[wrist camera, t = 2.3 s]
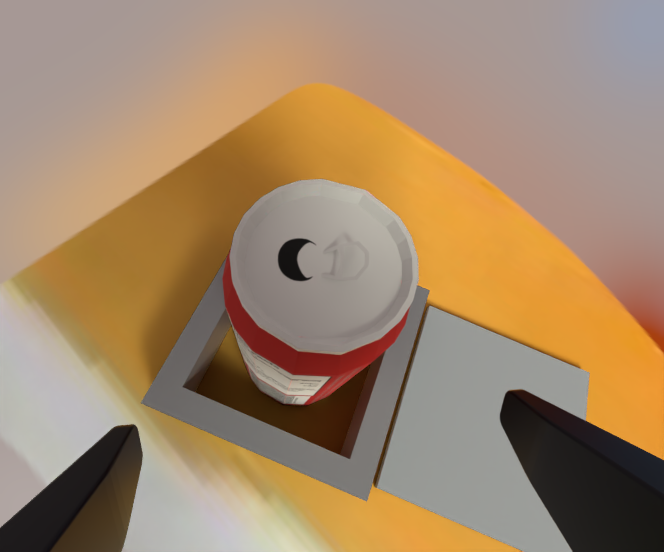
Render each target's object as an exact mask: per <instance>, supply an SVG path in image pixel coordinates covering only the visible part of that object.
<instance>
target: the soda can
mask: <svg viewBox="0 0 664 552" xmlns="http://www.w3.org/2000/svg"><path fill="white" fill-rule="evenodd" d="M222 280H223V290H224V300H225V307H226V310H227V313H228V316H229V319H230V321H231V324H232V327H233V330H234V333H235V336H236V339H237V342H238V345H239V348H240V351H241V354H242V357H243V360H244V363H245V366H246V369H247V371H248V373H249V376H250V378H251V380H252V381H253V383H254V384H255V385H256V386H257V388H258V389H259V390H260V391H261V392H262V393H264V394H265V395H267V396H269V397H271V398H272V399H274V400H276V401H277V402H279V403H281V404H282V405H301V406H307V405H310V404H312V403H314V402H317V401H319V400H321V399H324V398H326V397H328V396H329V395H330V394H332V393H333V392H334V391H335V390H337V389H338V388H339V387H341V386H342V385H343V384H345V383H346V382H347V381H348V380H350V379H351V378H352V377H354V376H355V375H356V374H358V373H359V372H360V371H361V370H363V369H364V368H365V367H367V366H368V365H369V364H370V363H372V362H373V361H374V360H375V359H377V358H378V357H379V356H380V355H381V354H382V353H383V352H384V351H385V350H387V349H388V348H389V347H390V346H391V345H392V344H393V343H394V342H395V341H396V339H397V337H398V336H399V334H400V332H401V331H402V329H403V328H404V326H405V324H406V320H407V316H408V312H409V309H410V305H411V303H412V302H413V299H414V295H415V292H416V288H417V284H418V280H419V277H418V257H417V253H416V250H415V247H414V244H413V240H412V237H411V235H410V233H409V232H408V230H407V229H406V227H405V225H404V224H403V222H402V220H401V219H400V217H399V216H397V215H396V214H395V213H394V212H393V211H391V210H390V209H389V208H388V207H386V206H385V205H384V204H383V203H382V202H380V201H379V200H378V199H377V198H375V197H374V196H373V195H372V194H371V193H369V192H368V191H367V190H364V189H360V188H356V187H352V186H348V185H344V184H340V183H336V182H332V181H328V180H325V179H314V180H300V181H297V182H293V183H290V184H287V185H283V186H280V187H278V188H276V189H274V190H273V191H271V192H269V193H268V194H266V195H264V196H263V197H261V198H260V199H259V200H258V201H257V202H256V203H255V204H254V205H253V206H252V207H251V208H250V209H249V210H248V211H247V212H246V213H245V214H244V216H243V218H242V219H241V221H240V223H239V225H238V227H237V229H236V231H235V233H234V236H233V241H232V246H231V249H230V251H229V254H228V256H227V258H226V263H225V268H224V273H223V278H222Z"/></svg>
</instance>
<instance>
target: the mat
mask: <svg viewBox="0 0 664 552" xmlns="http://www.w3.org/2000/svg"><path fill="white" fill-rule="evenodd" d="M588 384H589V372H586V371H584V370H582V369H579V368H577V367H575V366H572V365H570V364H567V363H565V362H563V361H560V360H558V359H556V358H553V357H551V356H548V355H546V354H544V353H541V352H539V351H537V350H534V349H532V348H529V347H527V346H525V345H522V344H520V343H518V342H515V341H513V340H510V339H508V338H506V337H503V336H501V335H499V334H496V333H494V332H492V331H489V330H487V329H484V328H482V327H480V326H477V325H475V324H473V323H470V322H468V321H465V320H463V319H461V318H458V317H456V316H454V315H451V314H449V313H446V312H444V311H442V310H439V309H437V308H435V307H432V306H429V307H428V308H427V310H426V314H425V317H424V321H423V324H422V327H421V331H420V334H419V338H418V341H417V344H416V348H415V351H414V355H413V358H412V362H411V365H410V368H409V372H408V375H407V379H406V382H405V385H404V389H403V392H402V396H401V399H400V402H399V406H398V409H397V413H396V416H395V420H394V423H393V426H392V430H391V433H390V437H389V440H388V443H387V447H386V450H385V454H384V457H383V460H382V464H381V467H380V471H379V474H378V478H377V481H376V484H375V487H376V488H378V489H381V490H383V491H385V492H388V493H390V494H392V495H394V496H397V497H399V498H401V499H404V500H406V501H408V502H411V503H413V504H415V505H418V506H420V507H422V508H424V509H427V510H429V511H431V512H434V513H436V514H438V515H441V516H443V517H445V518H448V519H450V520H452V521H454V522H457V523H459V524H461V525H464V526H466V527H468V528H471V529H473V530H475V531H478V532H480V533H482V534H484V535H487V536H489V537H491V538H494V539H496V540H498V541H501V542H503V543H505V544H508V545H510V546H512V547H514V548H517V549H519V550H521V551H524V552H572V550H571V549H570V547H569V545H568V544H567V542H566V540H565V539H564V537H563V535H562V534H561V532H560V531H559V529H558V527H557V526H556V524H555V522H554V521H553V519H552V518H551V516H550V514H549V513H548V511H547V509H546V508H545V506H544V504H543V503H542V501H541V500H540V498H539V496H538V495H537V493H536V491H535V490H534V488H533V486H532V485H531V483H530V481H529V479H528V477H527V475H526V474H525V472H524V470H523V468H522V466H521V464H520V462H519V460H518V458H517V456H516V454H515V452H514V450H513V448H512V445H511V443H510V441H509V439H508V437H507V435H506V433H505V431H504V429H503V427H502V425H501V422H500V411H501V407H502V403H503V400H504V396H505V393H506V392H507V391H509V390H516V389H523V390H526V391H528V392H530V393H532V394H534V395H536V396H538V397H540V398H541V399H543V400H545V401H547V402H549V403H551V404H553V405H555V406H557V407H559V408H561V409H563V410H565V411H567V412H569V413H571V414H573V415H575V416H577V417H579V418H581V419H583V420H585V421H586V409H587V397H588Z"/></svg>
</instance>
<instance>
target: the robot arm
mask: <svg viewBox="0 0 664 552" xmlns="http://www.w3.org/2000/svg"><path fill="white" fill-rule="evenodd" d="M500 422H501V425H502V427H503V429H504V431H505V433H506V435H507V437H508V439H509V441H510V443H511V445H512V448H513V450H514V452H515V454H516V456H517V458H518V460H519V462H520V464H521V466H522V468H523V470H524V472H525V474H526V475H527V477H528V479H529V481H530V483H531V485H532V486H533V488H534V490H535V491H536V493H537V495H538V496H539V498H540V500H541V501H542V503H543V504H544V506H545V508H546V509H547V511H548V513H549V514H550V516H551V518H552V519H553V521H554V522H555V524H556V526H557V527H558V529H559V531H560V532H561V534H562V535H563V537H564V539H565V540H566V542H567V544H568V545H569V547H570V549H571V550H572V552H664V460H662V459H660V458H658V457H656V456H654V455H652V454H650V453H648V452H646V451H644V450H642V449H640V448H638V447H636V446H635V445H633V444H631V443H629V442H627V441H625V440H623V439H621V438H619V437H617V436H615V435H613V434H611V433H609V432H607V431H605V430H603V429H601V428H599V427H597V426H595V425H593V424H591V423H589V422H587V421H585V420H583V419H581V418H579V417H577V416H575V415H573V414H571V413H569V412H567V411H565V410H563V409H561V408H559V407H557V406H555V405H553V404H551V403H549V402H547V401H545V400H543V399H541V398H540V397H538V396H536V395H534V394H532V393H530V392H528V391H526V390H523V389H516V390H509V391H507V392H506V393H505V396H504V400H503V403H502V407H501V411H500ZM142 457H143V454H142V448H141V443H140V438H139V433H138V428H137V427H136V425H133V424H131V425H120V426H116V427H114V428H112V429H111V430H110V431H109V432H108V433H107V434H106V435H104V436H103V437H102V438H101V439H100V440H99V441H98V442H97V443H95V444H94V445H93V446H92V447H91V448H90V449H89V450H88V451H86V452H85V453H84V454H83V455H82V456H81V457H80V458H78V459H77V460H76V461H75V462H74V463H73V464H72V465H71V466H69V467H68V468H67V469H66V470H65V471H64V472H63V473H62V474H60V475H59V476H58V477H57V478H56V479H55V480H54V481H53V482H51V483H50V484H49V485H48V486H47V487H46V488H45V489H43V490H42V491H41V492H40V493H39V494H38V495H37V496H36V497H34V498H33V499H32V500H31V501H30V502H29V503H28V504H27V505H25V506H24V507H23V508H22V509H21V510H20V511H19V512H18V513H16V514H15V515H14V516H13V517H12V518H11V519H10V520H9V521H7V522H6V523H5V524H4V525H3V526H2V527H1V528H0V552H122V548H123V545H124V542H125V538H126V535H127V530H128V526H129V522H130V517H131V512H132V508H133V503H134V498H135V493H136V489H137V484H138V479H139V475H140V470H141V465H142Z"/></svg>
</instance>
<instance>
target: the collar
mask: <svg viewBox="0 0 664 552" xmlns="http://www.w3.org/2000/svg"><path fill="white" fill-rule="evenodd" d="M226 258H227V257H226ZM225 263H226V259H225V261H224V262H223V264H222V266H221V268H220V269H219V271H218V273H217V274H216V276H215V278H214V279H213V281H212V283H211V284H210V286H209V288H208V290H207V291H206V293H205V295H204V296H203V298H202V300H201V301H200V303H199V305H198V307H197V308H196V310H195V312H194V313H193V315H192V317H191V318H190V320H189V322H188V324H187V325H186V327H185V329H184V330H183V332H182V334H181V335H180V337H179V339H178V341H177V342H176V344H175V346H174V347H173V349H172V351H171V352H170V354H169V356H168V358H167V359H166V361H165V363H164V364H163V366H162V368H161V369H160V371H159V373H158V374H157V376H156V378H155V380H154V381H153V383H152V385H151V386H150V388H149V390H148V391H147V393H146V395H145V397H144V398H143V400H142V402H141V403H142V404H144V405H146V406H148V407H151V408H153V409H155V410H158V411H160V412H162V413H165V414H167V415H169V416H172V417H174V418H176V419H178V420H181V421H183V422H185V423H188V424H190V425H192V426H195V427H197V428H199V429H201V430H204V431H206V432H208V433H211V434H213V435H215V436H218V437H220V438H222V439H224V440H227V441H229V442H231V443H234V444H236V445H238V446H241V447H243V448H245V449H248V450H250V451H252V452H254V453H257V454H259V455H261V456H264V457H266V458H268V459H271V460H273V461H275V462H277V463H280V464H282V465H284V466H287V467H289V468H291V469H294V470H296V471H298V472H300V473H303V474H305V475H307V476H310V477H312V478H314V479H317V480H319V481H321V482H324V483H326V484H328V485H330V486H333V487H335V488H337V489H340V490H342V491H344V492H347V493H349V494H351V495H353V496H356V497H358V498H360V499H363V500H365V501H367V500H368V496H369V493H370V489H371V486H372V483H373V479H374V476H375V473H376V469H377V466H378V462H379V459H380V456H381V452H382V449H383V446H384V442H385V439H386V436H387V432H388V429H389V425H390V422H391V419H392V415H393V412H394V409H395V405H396V402H397V398H398V395H399V392H400V388H401V385H402V382H403V378H404V375H405V372H406V368H407V365H408V361H409V358H410V355H411V351H412V348H413V345H414V341H415V338H416V334H417V331H418V328H419V324H420V321H421V318H422V314H423V311H424V308H425V304H426V301H427V297H428V294H429V290H427V289H425V288H422V287H420V286H417V288H416V292H415V295H414V299H413V302H412V303H411V305H410V309H409V312H408V316H407V320H406V324H405V326H404V328H403V329H402V331H401V332H400V334H399V336H398V337H397V339H396V341H395V342H394V343H393V344H392V345H391V346H390V347H389V348H388V349H387V350H385V351H384V352H383V353H382V354H381V355H380V356H379V357H378V358H377V359H375V360H374V361H373V362H372V363H371V365H370V368H369V371H368V374H367V377H366V380H365V382H364V385H363V388H362V391H361V394H360V397H359V400H358V403H357V406H356V409H355V412H354V415H353V418H352V421H351V423H350V426H349V429H348V432H347V435H346V438H345V441H344V444H343V447H342V450H341V453H340V455H339V454H336V453H334V452H332V451H329V450H327V449H325V448H322V447H320V446H318V445H315V444H313V443H311V442H309V441H306V440H304V439H302V438H299V437H297V436H295V435H292V434H290V433H288V432H285V431H283V430H281V429H278V428H276V427H274V426H271V425H269V424H267V423H265V422H262V421H260V420H258V419H255V418H253V417H251V416H248V415H246V414H244V413H241V412H239V411H237V410H234V409H232V408H230V407H228V406H225V405H223V404H221V403H218V402H216V401H214V400H211V399H209V398H207V397H204V396H202V395H200V394H197V393H195V392H196V390H197V388H198V386H199V384H200V382H201V380H202V379H203V377H204V375H205V373H206V371H207V369H208V367H209V365H210V364H211V362H212V360H213V358H214V356H215V354H216V352H217V350H218V349H219V347H220V345H221V343H222V341H223V339H224V337H225V335H226V334H227V332H228V330H229V328H230V326H231V321H230V319H229V316H228V313H227V310H226V307H225V300H224V290H223V280H222V278H223V273H224V268H225Z"/></svg>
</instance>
